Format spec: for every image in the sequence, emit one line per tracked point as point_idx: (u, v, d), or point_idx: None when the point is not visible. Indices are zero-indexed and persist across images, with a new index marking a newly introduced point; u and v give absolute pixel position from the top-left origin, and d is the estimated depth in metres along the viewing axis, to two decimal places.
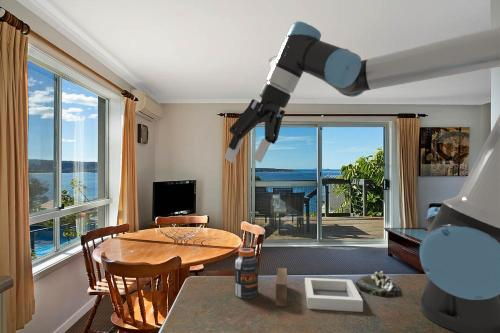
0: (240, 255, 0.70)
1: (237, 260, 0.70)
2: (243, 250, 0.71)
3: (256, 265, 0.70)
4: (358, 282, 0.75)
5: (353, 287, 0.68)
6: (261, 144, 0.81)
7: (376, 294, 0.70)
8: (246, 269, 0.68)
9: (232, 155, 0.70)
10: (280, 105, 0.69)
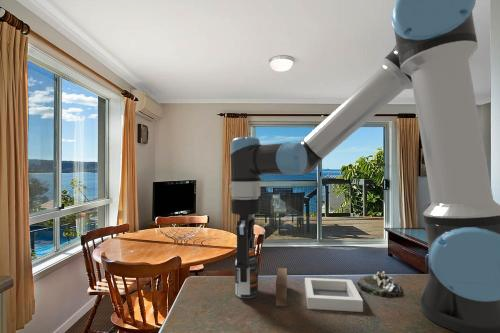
0: None
1: None
2: None
3: (256, 265, 0.70)
4: (359, 282, 0.75)
5: (353, 287, 0.68)
6: None
7: (377, 294, 0.69)
8: None
9: (247, 287, 0.67)
10: (258, 212, 0.70)
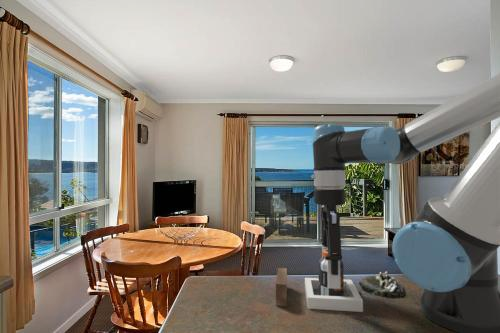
0: None
1: (323, 262, 0.67)
2: None
3: None
4: (361, 282, 0.75)
5: (353, 287, 0.68)
6: None
7: (378, 294, 0.69)
8: None
9: (338, 280, 0.63)
10: (345, 202, 0.67)
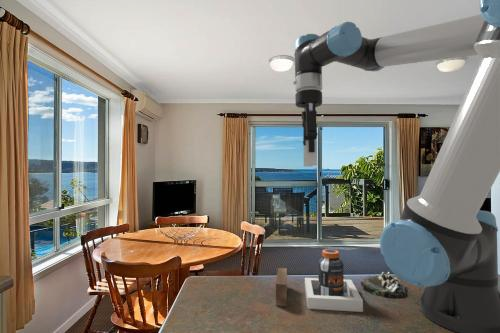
0: (325, 257, 0.67)
1: (323, 262, 0.67)
2: (328, 251, 0.68)
3: None
4: (363, 281, 0.75)
5: (353, 287, 0.68)
6: (305, 150, 0.86)
7: (379, 294, 0.69)
8: (334, 272, 0.66)
9: (314, 158, 0.72)
10: (321, 102, 0.78)
